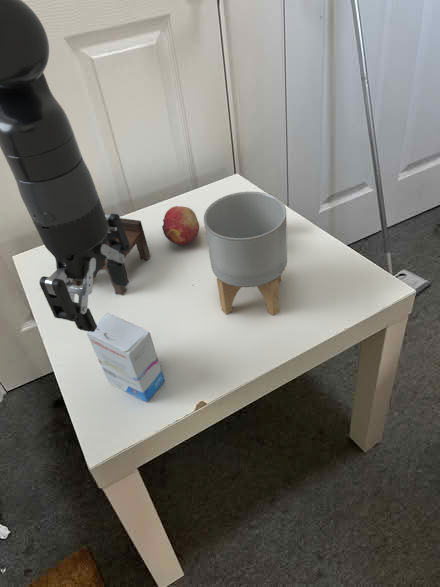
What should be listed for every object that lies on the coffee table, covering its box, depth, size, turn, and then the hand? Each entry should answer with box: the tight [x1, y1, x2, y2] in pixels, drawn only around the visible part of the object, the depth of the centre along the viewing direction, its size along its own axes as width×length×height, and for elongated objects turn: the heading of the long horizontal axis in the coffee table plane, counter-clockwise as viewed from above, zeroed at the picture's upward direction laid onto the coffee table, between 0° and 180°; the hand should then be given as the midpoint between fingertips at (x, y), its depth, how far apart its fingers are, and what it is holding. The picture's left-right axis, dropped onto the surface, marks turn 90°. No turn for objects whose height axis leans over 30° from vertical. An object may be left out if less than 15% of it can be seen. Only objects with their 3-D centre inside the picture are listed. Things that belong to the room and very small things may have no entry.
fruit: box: [161, 205, 200, 246], centre depth 95 cm, size 8×8×8 cm
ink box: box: [86, 312, 165, 403], centre depth 69 cm, size 9×5×12 cm, turn 58°
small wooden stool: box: [72, 217, 151, 296], centre depth 91 cm, size 12×12×9 cm
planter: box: [203, 191, 288, 316], centre depth 78 cm, size 13×13×18 cm
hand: (106, 305), depth 61 cm, fingers open, 8 cm apart
